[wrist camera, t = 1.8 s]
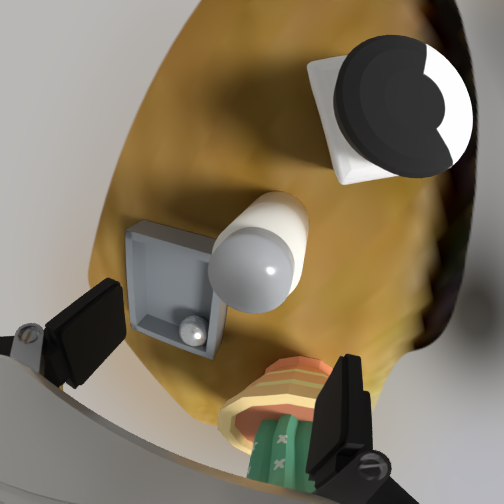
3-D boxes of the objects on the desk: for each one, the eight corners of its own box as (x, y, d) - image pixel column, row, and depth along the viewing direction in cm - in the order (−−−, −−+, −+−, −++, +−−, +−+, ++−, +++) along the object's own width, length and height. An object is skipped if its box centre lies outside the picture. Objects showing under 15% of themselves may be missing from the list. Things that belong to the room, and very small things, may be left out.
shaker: (253, 184, 23) (206, 217, 14) (316, 200, 22) (311, 244, 13) (243, 242, 25) (197, 303, 16) (300, 257, 24) (285, 330, 15)
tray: (143, 219, 26) (125, 229, 24) (238, 245, 25) (227, 259, 22) (144, 313, 32) (131, 328, 29) (221, 342, 30) (212, 360, 28)
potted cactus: (357, 417, 31) (338, 588, 9) (246, 412, 35) (187, 566, 13) (374, 331, 25) (374, 600, 3) (226, 330, 29) (110, 547, 7)
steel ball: (187, 305, 28) (173, 323, 26) (216, 315, 28) (204, 334, 25) (186, 328, 30) (173, 345, 27) (213, 337, 29) (202, 356, 27)
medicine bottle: (333, 171, 21) (346, 209, 10) (310, 84, 18) (295, 29, 8) (417, 157, 18) (501, 185, 8) (396, 71, 16) (460, 19, 5)
